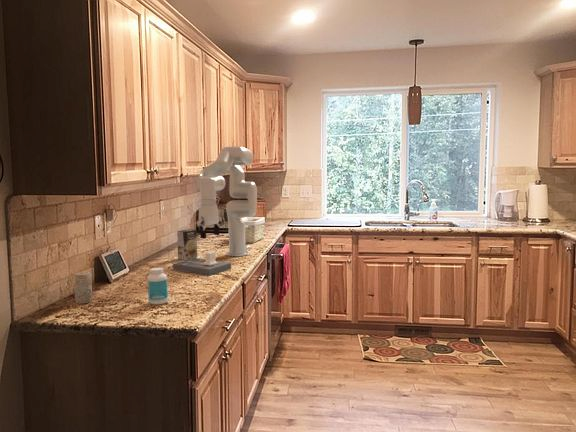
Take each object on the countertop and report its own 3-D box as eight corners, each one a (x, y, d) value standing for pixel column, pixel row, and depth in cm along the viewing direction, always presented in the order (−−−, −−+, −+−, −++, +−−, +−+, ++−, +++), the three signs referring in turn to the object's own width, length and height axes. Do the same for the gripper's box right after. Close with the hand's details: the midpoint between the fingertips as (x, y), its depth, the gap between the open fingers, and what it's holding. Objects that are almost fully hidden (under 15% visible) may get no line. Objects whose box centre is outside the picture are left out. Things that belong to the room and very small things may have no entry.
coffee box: (185, 260, 270) (183, 231, 268) (177, 259, 274) (176, 230, 272) (197, 257, 277) (196, 229, 275) (190, 256, 281) (189, 228, 279)
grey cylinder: (74, 305, 189) (71, 275, 188) (77, 300, 196) (75, 271, 195) (91, 304, 191) (89, 274, 189) (94, 298, 198) (92, 269, 196)
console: (195, 263, 261) (195, 257, 261) (231, 268, 247) (231, 262, 247) (173, 269, 248) (172, 263, 247) (209, 275, 234) (209, 269, 234)
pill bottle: (172, 302, 192) (170, 268, 190) (155, 306, 186) (154, 272, 185) (161, 298, 197) (159, 265, 195) (144, 302, 191) (143, 269, 190)
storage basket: (244, 237, 346) (243, 216, 344) (266, 237, 342) (265, 216, 340) (232, 243, 323) (231, 221, 321) (255, 243, 319) (255, 221, 317)
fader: (211, 262, 248) (210, 251, 247) (218, 263, 245) (218, 252, 244) (202, 264, 243) (202, 253, 242) (210, 265, 240) (209, 254, 239)
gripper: (214, 200, 249) (216, 232, 252) (190, 204, 235) (192, 238, 238) (225, 200, 245) (227, 234, 248) (201, 204, 231) (203, 240, 234)
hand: (210, 236), depth 243 cm, fingers open, 9 cm apart
